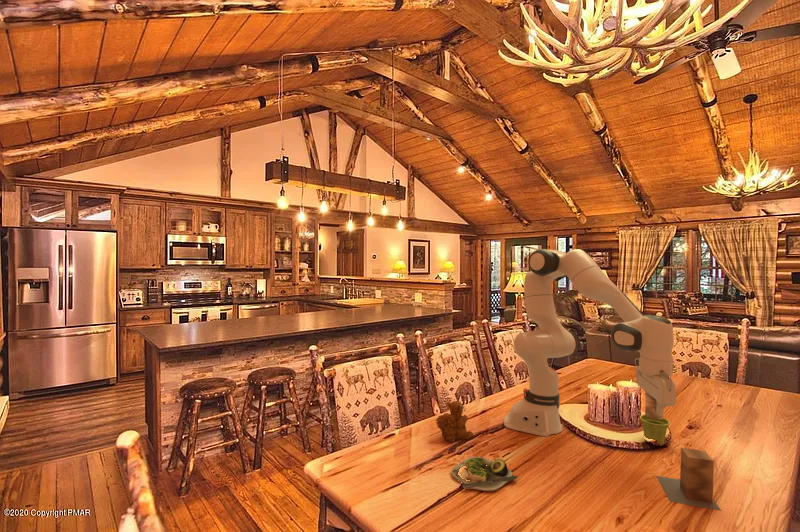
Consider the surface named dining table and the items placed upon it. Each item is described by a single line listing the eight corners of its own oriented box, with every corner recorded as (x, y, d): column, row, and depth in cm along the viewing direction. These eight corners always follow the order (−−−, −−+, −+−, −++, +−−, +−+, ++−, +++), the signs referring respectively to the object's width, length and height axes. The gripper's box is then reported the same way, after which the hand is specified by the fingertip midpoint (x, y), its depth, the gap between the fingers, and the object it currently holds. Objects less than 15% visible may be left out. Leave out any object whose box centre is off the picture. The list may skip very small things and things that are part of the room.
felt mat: (669, 502, 112) (669, 501, 112) (655, 476, 125) (655, 475, 125) (721, 512, 108) (721, 510, 108) (701, 484, 121) (701, 483, 121)
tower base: (687, 498, 113) (687, 478, 113) (680, 487, 119) (680, 467, 118) (712, 503, 111) (713, 482, 111) (704, 491, 117) (704, 471, 116)
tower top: (687, 478, 113) (688, 457, 113) (680, 467, 118) (681, 447, 118) (713, 482, 111) (713, 460, 111) (704, 471, 116) (705, 450, 116)
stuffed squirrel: (475, 436, 152) (475, 401, 152) (453, 448, 142) (453, 412, 142) (453, 428, 159) (454, 395, 159) (431, 439, 149) (431, 404, 149)
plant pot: (674, 449, 143) (674, 425, 143) (645, 447, 145) (645, 423, 145) (662, 438, 152) (663, 415, 152) (635, 435, 154) (636, 413, 154)
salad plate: (486, 506, 110) (486, 489, 110) (438, 479, 123) (438, 464, 123) (523, 479, 123) (523, 465, 123) (475, 458, 136) (475, 444, 136)
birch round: (643, 416, 127) (644, 397, 127) (646, 411, 131) (646, 393, 131) (662, 420, 124) (663, 401, 124) (664, 415, 128) (665, 397, 128)
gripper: (683, 377, 116) (681, 424, 117) (652, 359, 136) (651, 399, 137) (659, 375, 117) (658, 422, 118) (632, 357, 137) (631, 397, 138)
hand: (654, 409), depth 127 cm, fingers closed on birch round, 5 cm apart
